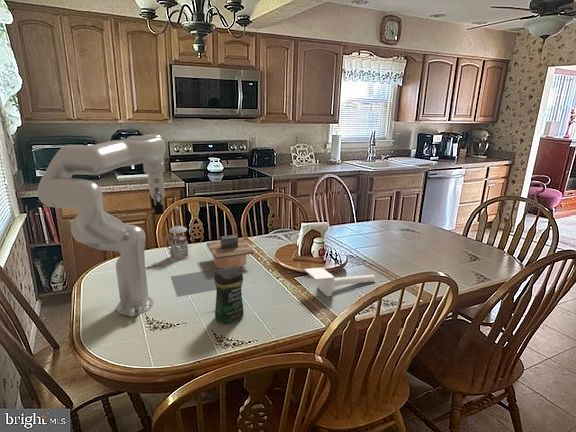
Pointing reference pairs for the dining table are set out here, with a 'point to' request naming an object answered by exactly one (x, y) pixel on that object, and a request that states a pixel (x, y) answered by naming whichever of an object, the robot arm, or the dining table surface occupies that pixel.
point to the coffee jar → (228, 295)
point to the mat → (194, 282)
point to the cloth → (229, 247)
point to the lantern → (175, 253)
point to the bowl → (230, 261)
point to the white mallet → (334, 279)
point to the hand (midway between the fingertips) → (157, 210)
